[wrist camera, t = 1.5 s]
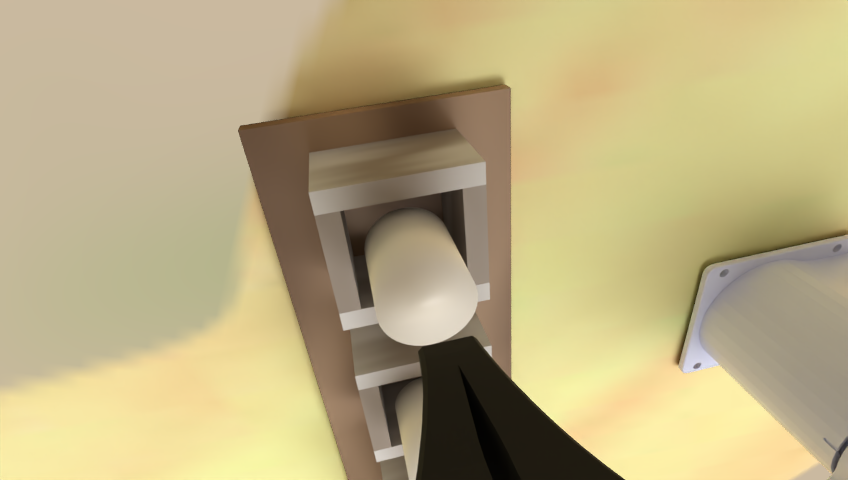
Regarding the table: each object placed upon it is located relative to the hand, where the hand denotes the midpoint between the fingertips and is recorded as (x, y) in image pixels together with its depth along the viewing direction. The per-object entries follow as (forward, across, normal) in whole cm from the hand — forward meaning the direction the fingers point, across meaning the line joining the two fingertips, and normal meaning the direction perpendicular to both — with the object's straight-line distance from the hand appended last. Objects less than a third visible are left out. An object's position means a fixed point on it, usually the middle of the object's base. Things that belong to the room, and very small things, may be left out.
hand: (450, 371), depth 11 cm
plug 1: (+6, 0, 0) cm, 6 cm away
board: (+10, 0, +8) cm, 13 cm away
